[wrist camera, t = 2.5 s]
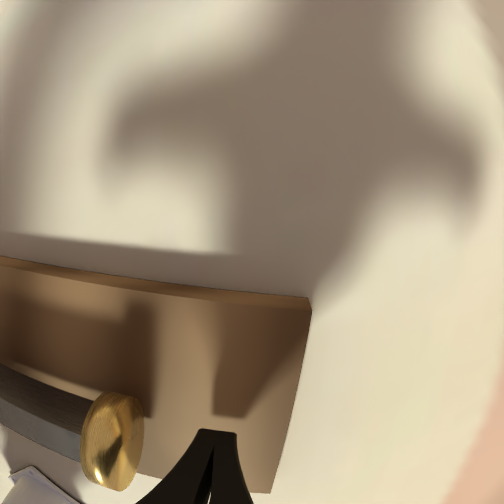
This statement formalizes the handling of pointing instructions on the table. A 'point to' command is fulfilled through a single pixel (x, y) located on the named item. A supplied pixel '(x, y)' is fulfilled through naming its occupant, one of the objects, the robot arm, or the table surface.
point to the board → (162, 356)
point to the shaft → (77, 426)
